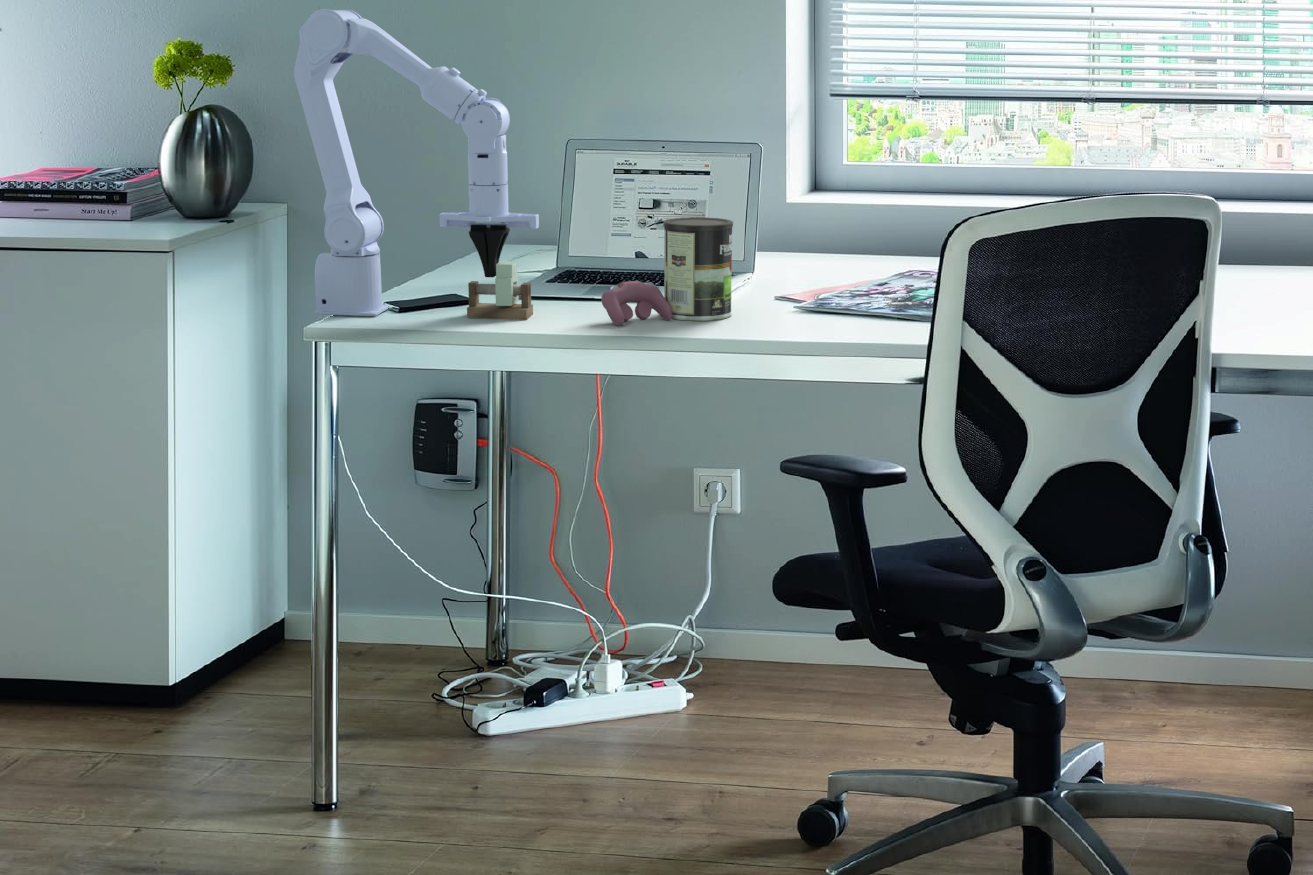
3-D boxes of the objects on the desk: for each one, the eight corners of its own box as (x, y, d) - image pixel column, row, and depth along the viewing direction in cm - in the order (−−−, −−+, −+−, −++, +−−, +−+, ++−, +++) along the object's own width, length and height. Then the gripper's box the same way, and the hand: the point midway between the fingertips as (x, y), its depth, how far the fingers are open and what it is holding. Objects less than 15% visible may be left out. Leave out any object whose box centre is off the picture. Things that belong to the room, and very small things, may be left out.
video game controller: (661, 327, 232) (649, 282, 233) (676, 318, 228) (665, 273, 229) (604, 334, 227) (593, 288, 228) (619, 325, 223) (607, 278, 224)
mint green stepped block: (495, 305, 229) (494, 265, 228) (503, 300, 233) (502, 260, 232) (511, 305, 229) (510, 265, 227) (518, 300, 233) (517, 261, 231)
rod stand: (467, 317, 230) (466, 284, 229) (474, 312, 234) (473, 279, 233) (526, 319, 229) (525, 286, 228) (533, 314, 233) (532, 281, 232)
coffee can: (736, 310, 237) (737, 217, 233) (725, 322, 227) (727, 226, 223) (670, 307, 239) (670, 215, 235) (656, 320, 229) (657, 224, 225)
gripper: (432, 186, 224) (435, 279, 227) (530, 187, 222) (532, 281, 225) (445, 181, 231) (448, 272, 234) (541, 182, 229) (543, 274, 232)
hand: (490, 276), depth 230 cm, fingers closed
